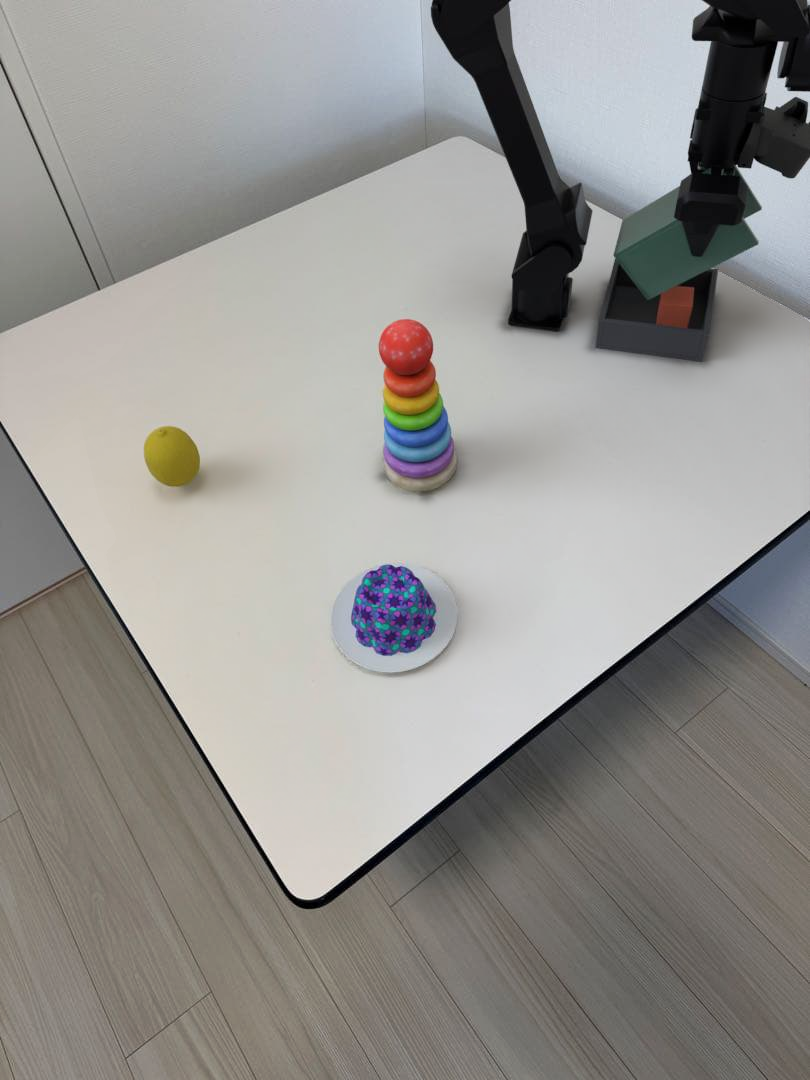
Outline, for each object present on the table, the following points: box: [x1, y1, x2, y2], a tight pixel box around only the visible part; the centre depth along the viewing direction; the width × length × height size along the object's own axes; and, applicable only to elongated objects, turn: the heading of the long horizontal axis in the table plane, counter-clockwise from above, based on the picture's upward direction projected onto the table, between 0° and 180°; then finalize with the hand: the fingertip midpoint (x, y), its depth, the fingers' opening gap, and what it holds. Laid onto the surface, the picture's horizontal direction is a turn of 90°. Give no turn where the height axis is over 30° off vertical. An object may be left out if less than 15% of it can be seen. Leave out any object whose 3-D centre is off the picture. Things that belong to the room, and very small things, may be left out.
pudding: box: [329, 562, 459, 673], centre depth 75 cm, size 12×12×5 cm
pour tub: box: [612, 165, 763, 300], centre depth 89 cm, size 7×7×13 cm
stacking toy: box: [378, 318, 458, 493], centre depth 81 cm, size 8×8×19 cm
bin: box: [595, 257, 719, 362], centre depth 98 cm, size 12×12×4 cm
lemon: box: [143, 425, 201, 488], centre depth 87 cm, size 6×6×8 cm
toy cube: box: [656, 286, 694, 328], centre depth 97 cm, size 4×4×4 cm
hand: (700, 236), depth 89 cm, fingers closed on pour tub, 7 cm apart
